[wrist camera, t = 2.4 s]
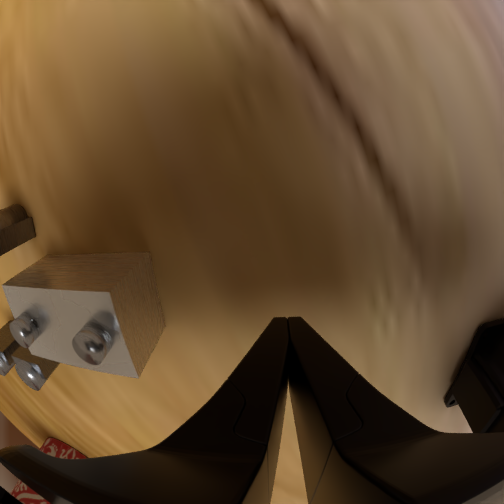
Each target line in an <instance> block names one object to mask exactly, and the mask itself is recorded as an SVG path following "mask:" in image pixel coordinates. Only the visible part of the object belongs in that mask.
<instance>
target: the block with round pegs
mask: <svg viewBox="0 0 504 504" xmlns="http://www.w3.org/2000/svg"><path fill="white" fill-rule="evenodd" d="M2 287H3V290H4V293H5V295H6V298H7V301H8V303H9V306H10V309H11V311H12V313H13V316H14V318H15V320H13V321H12V322H11V323H10V331H11V333H12V335H13V337H14V339H15V340H16V341H17V342H18V343H19V344H20V345H21V346H22V347H24V348H29V350H30V352H31V354H32V355H35V356H39V357H42V358H46V359H49V360H53V361H56V362H60V363H64V364H68V365H72V366H76V367H81V368H85V369H90V370H94V371H99V372H104V373H110V374H115V375H121V376H127V377H133V378H139V377H140V375H141V373H142V371H143V369H144V367H145V365H146V363H147V361H148V359H149V358H150V356H151V354H152V352H153V350H154V348H155V346H156V344H157V342H158V340H159V338H160V336H161V334H162V333H163V331H164V329H165V327H166V325H165V321H164V317H163V313H162V308H161V304H160V299H159V295H158V290H157V286H156V281H155V276H154V271H153V265H152V260H151V255H150V252H128V253H99V254H71V255H47V256H45V257H43V258H42V259H40V260H39V261H37V262H35V263H34V264H32V265H31V266H29V267H28V268H26V269H25V270H23V271H22V272H20V273H19V274H17V275H16V276H14V277H13V278H11V279H10V280H8V281H7V282H6V283H4V284H3V285H2Z"/></svg>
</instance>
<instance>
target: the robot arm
mask: <svg viewBox="0 0 504 504" xmlns="http://www.w3.org/2000/svg"><path fill="white" fill-rule="evenodd" d="M288 384H289V391H290V397H291V403H292V408H293V414H294V420H295V426H296V432H297V438H298V443H299V449H300V455H301V461H302V467H303V474H304V480H305V486H306V492H307V498H308V504H504V319H500V320H496V321H492V322H488V323H485V324H483V325H482V326H480V328H479V329H478V331H477V332H476V335H475V338H474V340H473V342H472V345H471V347H470V350H469V352H468V354H467V357H466V359H465V361H464V363H463V365H462V367H461V370H460V372H459V374H458V376H457V378H456V380H455V382H454V384H453V386H452V387H451V389H450V391H449V393H448V395H447V397H446V398H445V400H444V403H445V405H446V407H451V406H454V405H457V404H458V405H459V407H460V408H461V410H462V412H463V414H464V416H465V418H466V420H467V422H468V424H469V426H470V428H471V430H472V432H473V433H444V432H439V431H437V430H434V429H432V428H430V427H428V426H426V425H425V424H423V423H421V422H420V421H419V420H417V419H416V418H414V417H413V416H412V415H410V414H409V413H407V412H406V411H405V410H403V409H402V408H400V407H399V406H398V405H396V404H395V403H393V402H392V401H391V400H389V399H388V398H387V397H386V396H384V395H383V394H382V393H380V392H379V391H378V390H377V389H376V388H375V387H374V386H372V385H371V384H370V383H369V382H368V381H367V380H366V379H365V378H364V377H363V376H362V375H361V374H358V372H357V371H356V370H355V369H354V368H353V367H352V366H351V365H350V364H349V363H348V362H347V361H346V360H345V359H344V358H343V357H342V356H341V355H340V354H339V353H338V352H337V351H335V350H334V349H333V348H332V347H331V346H330V345H329V344H328V343H327V342H326V341H325V340H324V339H323V338H322V337H321V336H320V335H319V334H318V333H317V332H316V331H315V330H314V329H313V328H312V327H311V326H310V325H309V324H308V323H307V322H306V321H305V320H304V319H303V318H302V317H288V318H286V317H274V318H273V319H272V320H271V322H270V323H269V325H268V326H267V327H266V329H265V330H264V331H263V333H262V334H261V335H260V337H259V338H258V339H257V341H256V342H255V343H254V345H253V346H252V347H251V349H250V350H249V351H248V353H247V354H246V355H245V357H244V358H243V359H242V360H241V362H240V363H239V364H238V366H237V367H236V368H235V370H234V371H233V372H232V373H231V375H230V376H229V377H228V379H227V380H226V381H225V382H224V383H223V385H222V386H221V387H220V388H219V389H218V391H217V392H216V393H215V394H214V395H213V396H212V397H211V399H210V400H209V401H208V402H207V403H206V404H205V405H204V406H202V407H201V408H200V409H199V410H198V411H197V412H196V413H195V414H194V415H193V416H192V417H191V418H189V419H188V420H187V421H186V422H185V423H184V424H183V425H181V426H180V427H179V428H178V429H177V430H176V431H174V432H173V433H172V434H171V435H170V436H169V437H167V438H166V439H165V440H163V441H162V442H161V443H159V444H157V445H156V446H154V447H151V448H149V449H146V450H142V451H137V452H132V453H126V454H119V455H112V456H104V457H96V458H85V459H64V458H58V457H54V456H51V455H48V454H46V453H44V452H42V451H40V450H38V449H36V448H34V447H32V446H30V445H16V446H9V447H5V448H3V449H1V450H0V462H1V463H2V464H3V465H4V466H5V467H6V468H7V469H8V470H9V471H10V472H11V473H12V474H14V475H15V476H16V477H17V478H18V479H19V480H21V481H22V482H23V483H24V484H26V485H27V486H28V487H29V488H31V489H32V490H33V491H35V492H36V493H37V494H39V495H40V496H41V497H43V498H44V499H45V500H47V501H48V502H50V503H51V504H270V502H271V496H272V491H273V485H274V479H275V474H276V468H277V461H278V455H279V449H280V442H281V435H282V428H283V421H284V414H285V406H286V398H287V389H288ZM0 504H23V503H22V502H21V501H19V500H18V499H17V498H15V497H14V496H13V495H11V494H10V493H9V492H7V491H6V490H5V489H4V488H2V487H1V486H0Z"/></svg>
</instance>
